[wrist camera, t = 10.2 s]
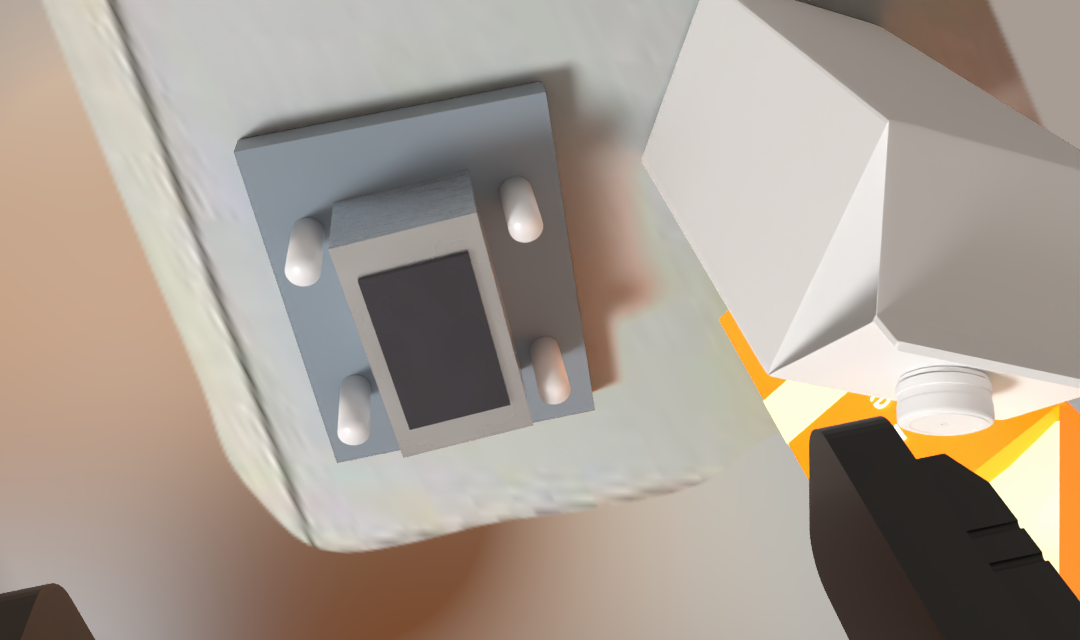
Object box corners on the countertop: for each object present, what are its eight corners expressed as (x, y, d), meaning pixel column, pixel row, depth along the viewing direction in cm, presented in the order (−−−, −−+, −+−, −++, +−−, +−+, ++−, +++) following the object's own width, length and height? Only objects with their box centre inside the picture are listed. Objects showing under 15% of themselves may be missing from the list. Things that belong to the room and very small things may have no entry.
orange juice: (856, 188, 40) (1201, 532, 23) (976, 307, 44) (1350, 677, 27) (714, 321, 43) (934, 722, 26) (840, 424, 47) (1105, 832, 29)
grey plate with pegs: (237, 139, 36) (222, 186, 32) (541, 81, 36) (558, 121, 33) (338, 445, 43) (334, 510, 40) (589, 393, 44) (608, 454, 40)
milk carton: (706, -28, 35) (981, 188, 19) (882, 25, 37) (1269, 264, 21) (638, 159, 38) (823, 479, 22) (803, 199, 40) (1085, 522, 24)
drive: (333, 202, 36) (328, 252, 33) (468, 168, 36) (476, 215, 33) (401, 399, 41) (403, 460, 38) (521, 369, 41) (533, 428, 38)
